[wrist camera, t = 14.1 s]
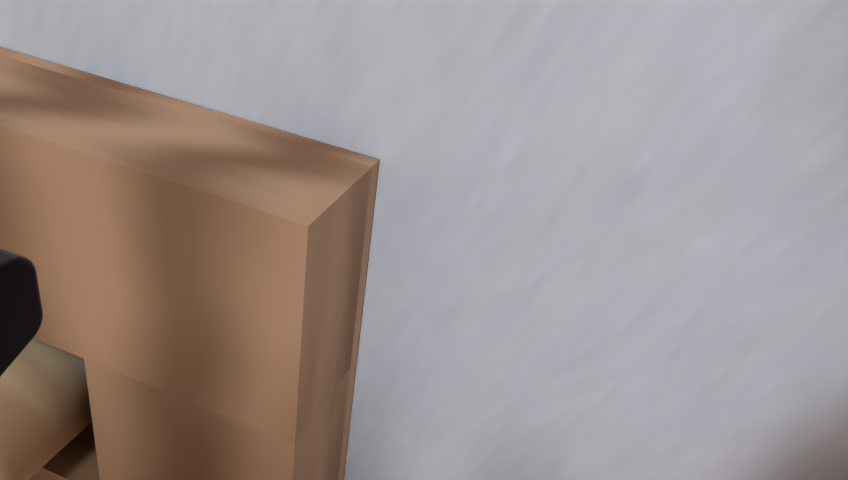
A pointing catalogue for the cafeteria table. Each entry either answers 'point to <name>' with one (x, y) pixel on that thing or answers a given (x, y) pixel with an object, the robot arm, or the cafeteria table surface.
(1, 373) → the robot arm
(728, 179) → the cafeteria table surface
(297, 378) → the socket block
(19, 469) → the beech pin
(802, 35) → the cafeteria table surface
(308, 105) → the cafeteria table surface
